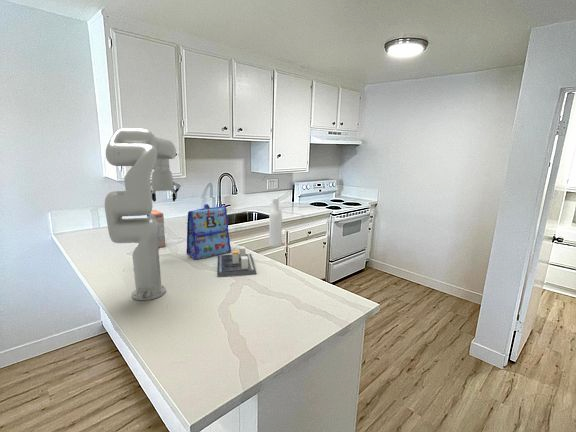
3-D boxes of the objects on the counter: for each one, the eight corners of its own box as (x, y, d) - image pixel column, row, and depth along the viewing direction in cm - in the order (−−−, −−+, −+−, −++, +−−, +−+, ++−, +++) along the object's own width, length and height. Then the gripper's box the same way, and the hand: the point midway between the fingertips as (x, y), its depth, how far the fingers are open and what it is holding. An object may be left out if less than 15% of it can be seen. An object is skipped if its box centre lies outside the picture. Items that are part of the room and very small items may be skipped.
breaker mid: (238, 263, 152) (238, 252, 151) (232, 263, 152) (232, 253, 151) (238, 260, 156) (238, 250, 155) (232, 260, 156) (232, 250, 154)
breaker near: (248, 268, 146) (247, 258, 145) (241, 269, 145) (241, 259, 144) (247, 265, 149) (247, 256, 148) (241, 266, 149) (241, 256, 148)
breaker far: (245, 257, 161) (245, 248, 160) (239, 257, 160) (239, 248, 159) (245, 254, 165) (244, 246, 164) (239, 255, 164) (239, 246, 163)
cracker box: (166, 246, 185) (163, 212, 180) (156, 248, 181) (153, 214, 176) (158, 241, 195) (156, 209, 191) (148, 243, 191) (145, 210, 187)
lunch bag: (195, 260, 162) (192, 207, 156) (186, 254, 172) (182, 204, 166) (231, 252, 175) (230, 203, 169) (220, 246, 185) (219, 200, 179)
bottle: (267, 244, 192) (267, 197, 185) (279, 242, 195) (279, 196, 188) (271, 247, 184) (271, 199, 178) (283, 246, 187) (284, 198, 181)
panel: (255, 274, 145) (255, 269, 144) (217, 276, 141) (217, 272, 141) (251, 257, 168) (251, 253, 167) (217, 259, 164) (217, 255, 164)
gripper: (142, 169, 151) (145, 202, 155) (178, 169, 155) (180, 201, 159) (145, 168, 159) (148, 200, 162) (180, 168, 162) (182, 199, 166)
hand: (164, 201), depth 160 cm, fingers open, 9 cm apart
